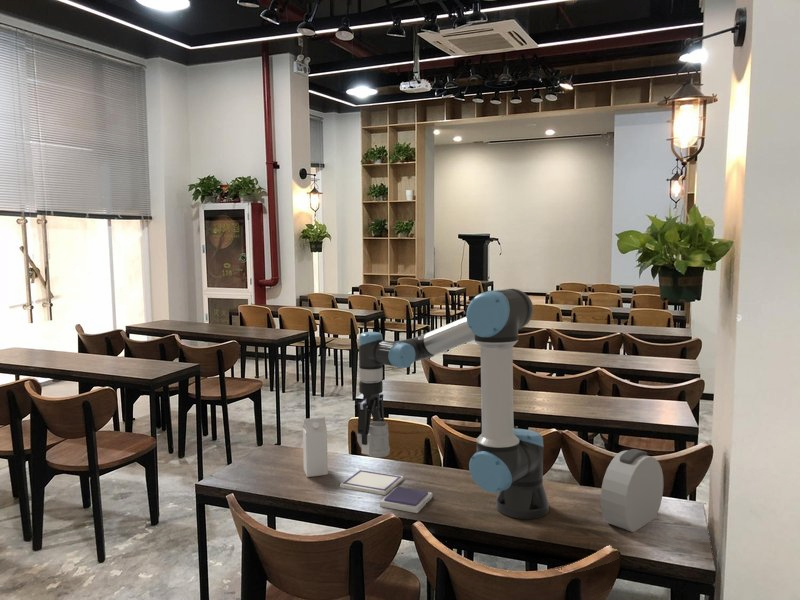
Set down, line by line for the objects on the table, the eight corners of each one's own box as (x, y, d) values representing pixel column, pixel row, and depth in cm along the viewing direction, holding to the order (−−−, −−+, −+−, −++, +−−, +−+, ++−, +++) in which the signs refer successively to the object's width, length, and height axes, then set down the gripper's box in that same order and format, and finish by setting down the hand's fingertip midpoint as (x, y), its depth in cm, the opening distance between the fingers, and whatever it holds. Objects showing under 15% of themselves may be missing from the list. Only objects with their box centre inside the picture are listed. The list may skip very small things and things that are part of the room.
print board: (403, 479, 202) (403, 475, 202) (385, 495, 189) (385, 491, 189) (360, 472, 209) (360, 468, 208) (340, 487, 196) (339, 483, 196)
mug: (382, 459, 192) (382, 422, 191) (351, 453, 198) (350, 417, 197) (394, 452, 199) (394, 415, 197) (363, 446, 204) (363, 411, 203)
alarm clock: (638, 505, 181) (639, 439, 179) (662, 513, 175) (665, 446, 173) (599, 527, 167) (601, 456, 165) (625, 537, 161) (627, 464, 159)
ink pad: (432, 497, 187) (432, 490, 187) (417, 513, 176) (417, 506, 176) (396, 491, 192) (396, 484, 192) (379, 506, 181) (379, 499, 181)
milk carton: (303, 470, 211) (302, 416, 209) (324, 467, 213) (323, 414, 211) (306, 477, 204) (305, 422, 203) (327, 475, 206) (326, 420, 205)
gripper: (374, 373, 207) (374, 439, 209) (345, 386, 188) (346, 458, 190) (394, 375, 204) (394, 442, 206) (367, 388, 185) (367, 461, 187)
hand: (371, 449), depth 198 cm, fingers closed on mug, 7 cm apart
